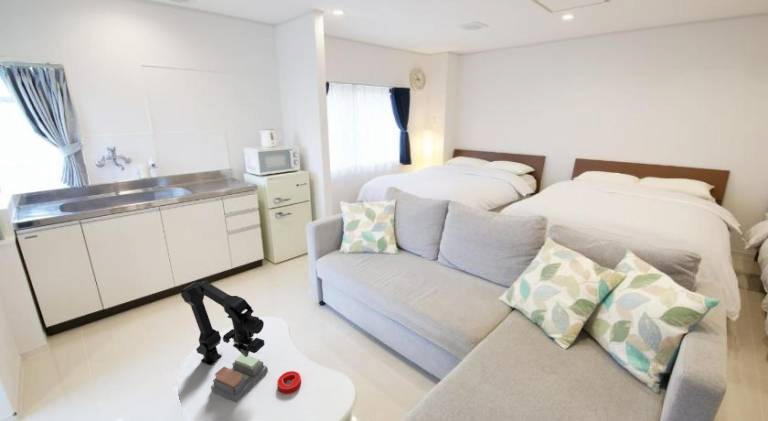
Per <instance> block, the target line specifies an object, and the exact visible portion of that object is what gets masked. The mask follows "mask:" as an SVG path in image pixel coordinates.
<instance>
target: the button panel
mask: <svg viewBox="0 0 768 421" xmlns="http://www.w3.org/2000/svg"><path fill="white" fill-rule="evenodd" d="M230 369H231V370H233V371H236V372H238V373H241V375H242V381H241V382H240V383H239V384H238V385H237V386H236V387H235V388H232V387H230V386H228V385H226V384H223V383H221V382H219V381H217V380H216V377H215V378H214V379H213V381H212V382H213V384H212V385H211V386H210V389H211V392H212V393H215V394H216V395H219V396H220V397H222V398H225V399H227V400H229V401H231V402H234V403H235V404H237V403H238V402H239V401H240V400H241V399H242V398H243V397H244V396H245V395H246V394H247V393H248V392H249V391H250V390H251V389H252V388H253V387H254V386H255V385H256V384H257V383H258V382H259V380H261V379H262V377H263V376H265V375H266V373H267V372H269V370H268V366H267V365H264V361H261V360H260V364H259V365H258V366H257V367H256V368H255V369H254V370H253V371H252V370H250V369H247V368H245V367H243V366H240V365H238V364H236V363H235V361H233V363H232V367H231V368H230Z"/></svg>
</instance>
